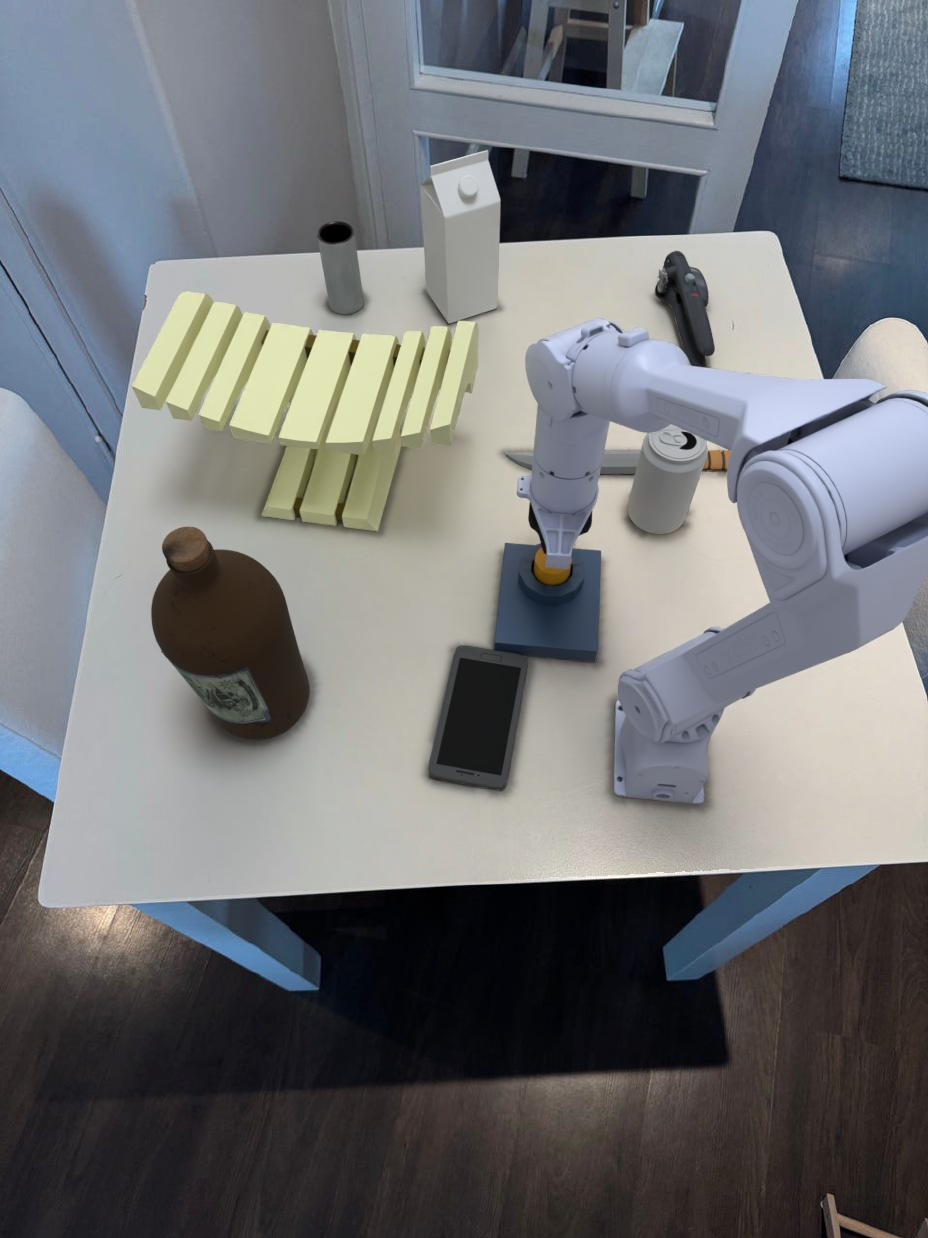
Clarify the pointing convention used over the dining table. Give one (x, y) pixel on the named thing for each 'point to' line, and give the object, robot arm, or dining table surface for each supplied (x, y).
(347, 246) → the gray cylinder
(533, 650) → the button housing
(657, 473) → the beverage can
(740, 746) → the dining table surface
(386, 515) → the dining table surface
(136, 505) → the dining table surface
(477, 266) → the milk carton
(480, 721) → the cell phone
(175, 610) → the brown bottle
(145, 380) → the slatted curved stool
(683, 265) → the can opener
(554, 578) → the trigger button
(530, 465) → the knife
